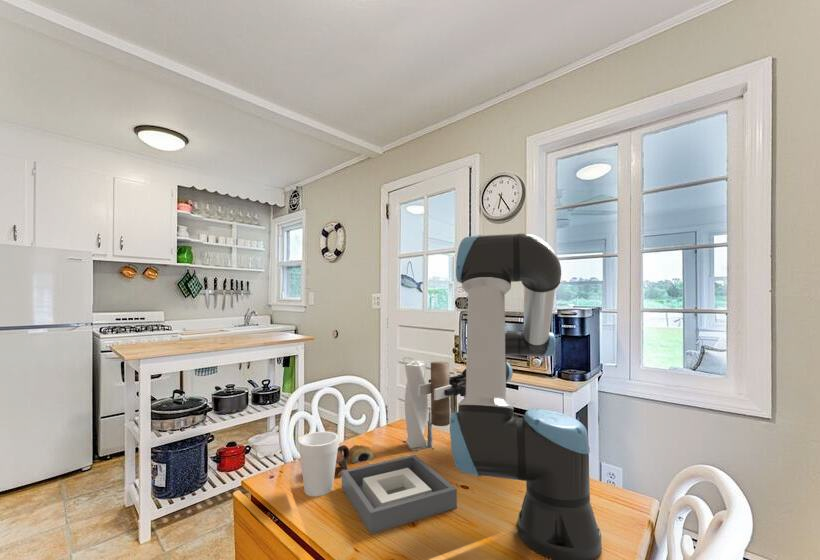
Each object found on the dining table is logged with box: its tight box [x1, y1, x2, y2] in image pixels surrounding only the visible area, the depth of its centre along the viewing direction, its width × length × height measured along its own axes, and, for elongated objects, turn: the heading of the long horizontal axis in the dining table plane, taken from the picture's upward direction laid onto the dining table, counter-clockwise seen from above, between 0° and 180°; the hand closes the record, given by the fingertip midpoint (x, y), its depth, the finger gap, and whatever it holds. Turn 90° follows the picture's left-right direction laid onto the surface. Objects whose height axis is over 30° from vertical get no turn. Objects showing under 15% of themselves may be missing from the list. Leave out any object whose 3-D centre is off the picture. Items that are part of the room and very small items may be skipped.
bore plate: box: [363, 468, 432, 508], centre depth 86 cm, size 12×12×3 cm
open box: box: [341, 454, 458, 535], centre depth 86 cm, size 20×20×5 cm
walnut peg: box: [430, 361, 451, 427], centre depth 101 cm, size 5×5×16 cm
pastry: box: [349, 444, 374, 465], centre depth 110 cm, size 9×7×4 cm
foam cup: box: [298, 430, 340, 497], centre depth 90 cm, size 10×9×13 cm
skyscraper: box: [402, 356, 435, 452], centre depth 118 cm, size 8×8×28 cm
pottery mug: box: [336, 444, 350, 479], centre depth 100 cm, size 12×10×8 cm
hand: (427, 392), depth 97 cm, fingers closed on walnut peg, 5 cm apart
